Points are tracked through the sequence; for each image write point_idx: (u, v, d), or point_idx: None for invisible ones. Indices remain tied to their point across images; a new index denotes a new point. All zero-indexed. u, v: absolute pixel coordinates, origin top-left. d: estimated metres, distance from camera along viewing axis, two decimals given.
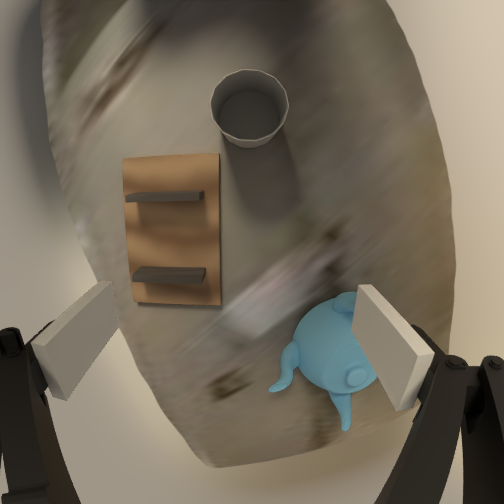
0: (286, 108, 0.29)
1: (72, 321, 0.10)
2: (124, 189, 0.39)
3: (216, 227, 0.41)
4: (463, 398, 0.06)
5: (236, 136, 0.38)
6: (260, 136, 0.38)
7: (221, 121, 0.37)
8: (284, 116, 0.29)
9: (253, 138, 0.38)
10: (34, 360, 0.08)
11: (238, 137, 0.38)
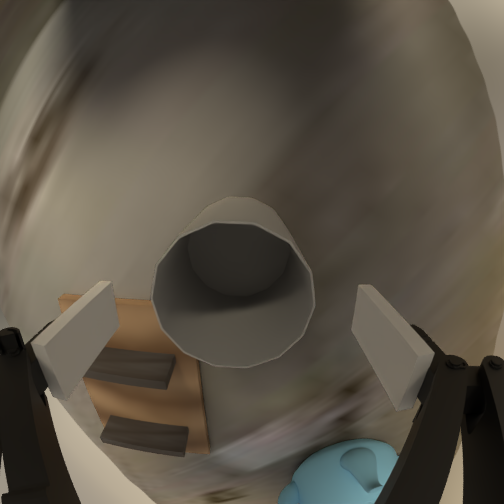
0: (308, 295, 0.16)
1: (72, 321, 0.10)
2: None
3: (196, 394, 0.27)
4: (463, 398, 0.06)
5: (217, 280, 0.24)
6: (257, 280, 0.24)
7: (191, 254, 0.23)
8: (303, 315, 0.16)
9: (245, 283, 0.24)
10: (34, 360, 0.08)
11: (221, 281, 0.24)
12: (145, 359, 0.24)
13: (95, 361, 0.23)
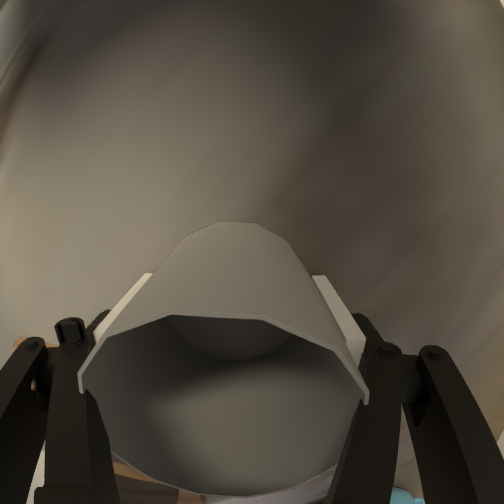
0: (350, 406, 0.08)
1: None
2: (32, 387, 0.18)
3: None
4: (400, 383, 0.07)
5: (205, 339, 0.16)
6: (261, 340, 0.17)
7: None
8: (339, 435, 0.08)
9: (244, 344, 0.17)
10: None
11: (210, 341, 0.17)
12: None
13: None
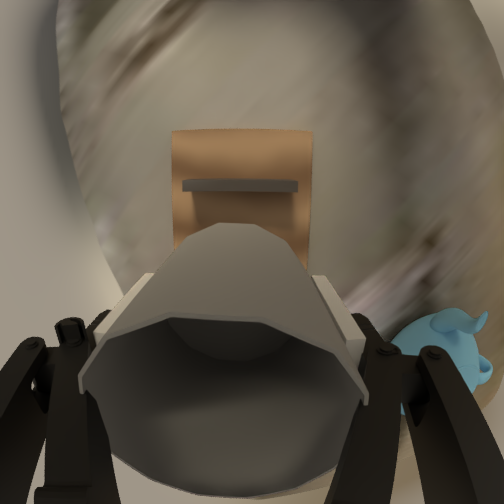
0: (350, 408, 0.08)
1: None
2: (173, 174, 0.28)
3: (305, 231, 0.30)
4: (399, 383, 0.07)
5: (205, 340, 0.16)
6: (261, 341, 0.17)
7: None
8: (339, 436, 0.08)
9: (244, 345, 0.17)
10: None
11: (210, 342, 0.17)
12: None
13: None
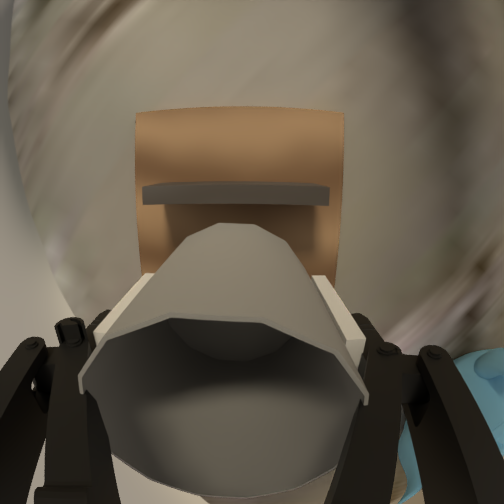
0: (350, 408, 0.08)
1: None
2: (137, 176, 0.18)
3: (332, 259, 0.20)
4: (400, 383, 0.07)
5: (205, 340, 0.16)
6: (261, 341, 0.17)
7: None
8: (339, 436, 0.08)
9: (244, 345, 0.17)
10: None
11: (210, 342, 0.17)
12: (276, 182, 0.18)
13: (193, 183, 0.16)
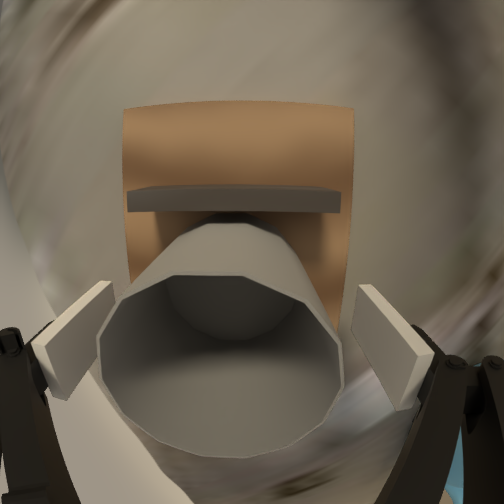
0: (332, 365, 0.10)
1: (72, 321, 0.10)
2: (125, 179, 0.16)
3: (340, 270, 0.18)
4: (463, 398, 0.06)
5: (207, 321, 0.18)
6: (258, 320, 0.18)
7: (171, 291, 0.18)
8: (324, 392, 0.10)
9: (243, 324, 0.18)
10: (34, 360, 0.08)
11: (212, 323, 0.18)
12: (279, 186, 0.16)
13: (185, 187, 0.14)
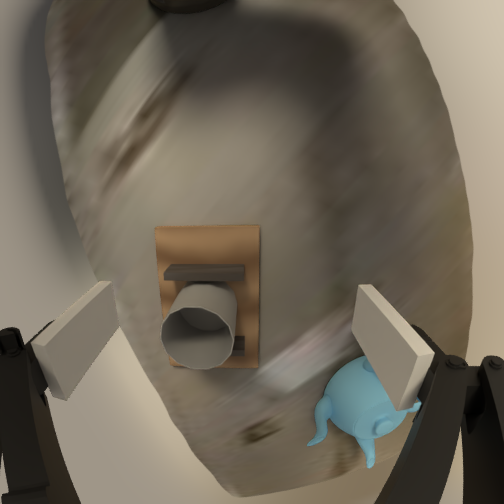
0: (233, 334, 0.32)
1: (72, 321, 0.10)
2: (158, 260, 0.39)
3: (256, 299, 0.41)
4: (463, 398, 0.06)
5: (197, 322, 0.41)
6: (219, 321, 0.41)
7: (181, 308, 0.40)
8: (231, 344, 0.32)
9: (213, 323, 0.41)
10: (34, 360, 0.08)
11: (199, 323, 0.41)
12: (224, 266, 0.38)
13: (185, 269, 0.37)
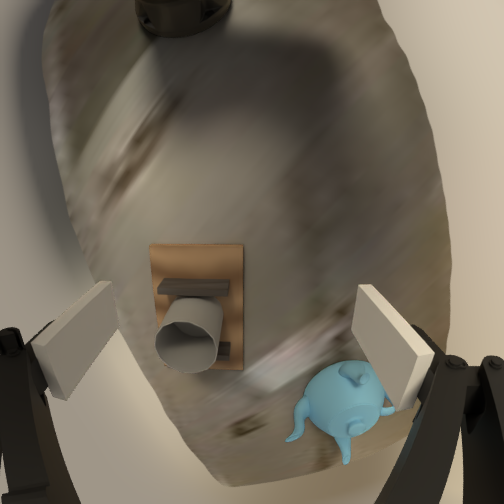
0: (217, 344, 0.37)
1: (72, 321, 0.10)
2: (152, 274, 0.43)
3: (240, 310, 0.45)
4: (463, 398, 0.06)
5: (187, 329, 0.45)
6: None
7: None
8: None
9: (202, 330, 0.45)
10: (34, 360, 0.08)
11: (189, 330, 0.45)
12: (211, 282, 0.42)
13: (176, 284, 0.41)
